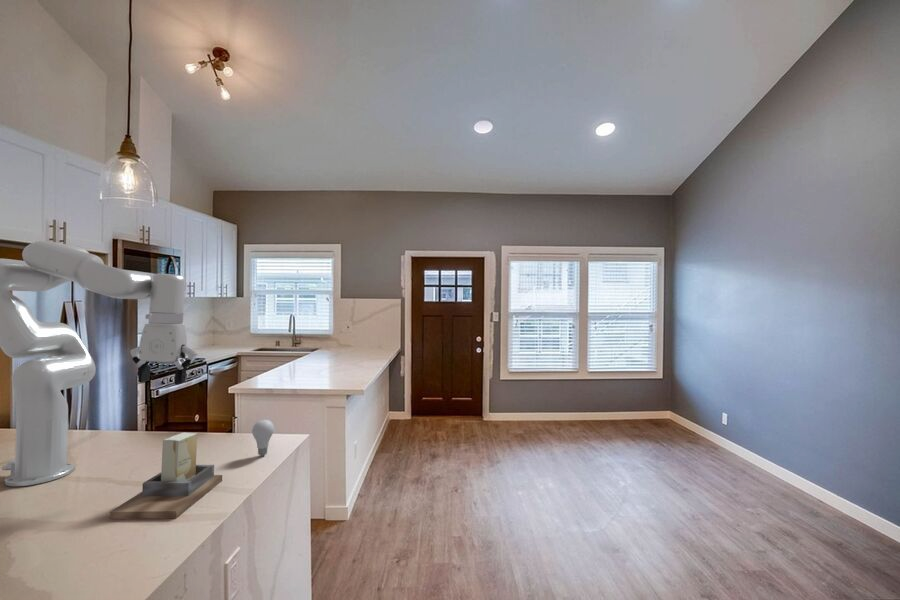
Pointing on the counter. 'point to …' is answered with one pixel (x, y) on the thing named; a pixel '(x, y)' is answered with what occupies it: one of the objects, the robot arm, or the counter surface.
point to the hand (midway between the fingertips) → (161, 382)
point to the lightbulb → (262, 435)
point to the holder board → (168, 496)
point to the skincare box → (179, 457)
